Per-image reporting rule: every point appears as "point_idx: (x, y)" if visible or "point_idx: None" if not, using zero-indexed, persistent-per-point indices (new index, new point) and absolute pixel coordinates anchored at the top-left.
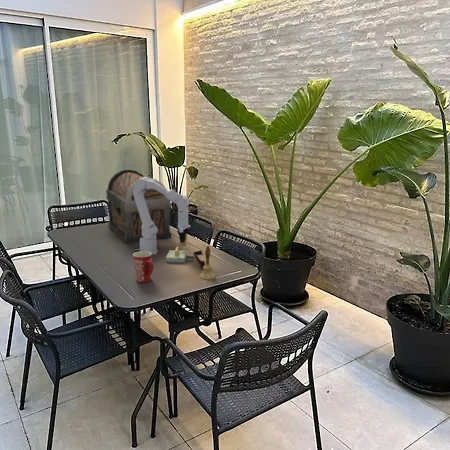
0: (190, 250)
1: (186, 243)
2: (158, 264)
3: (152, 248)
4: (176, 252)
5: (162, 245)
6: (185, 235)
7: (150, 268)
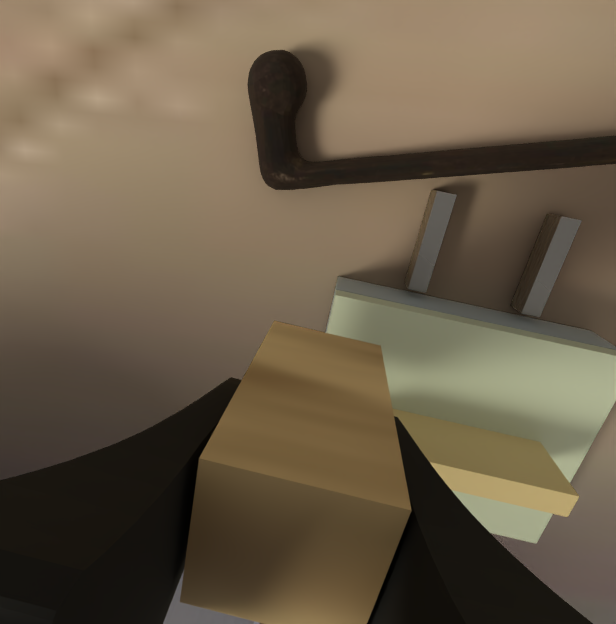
0: (145, 215)
1: (327, 346)
2: (540, 552)
3: (243, 621)
4: (567, 482)
5: (17, 472)
6: (513, 557)
7: None
